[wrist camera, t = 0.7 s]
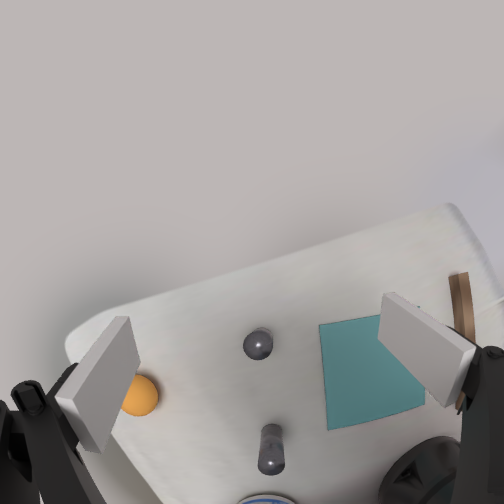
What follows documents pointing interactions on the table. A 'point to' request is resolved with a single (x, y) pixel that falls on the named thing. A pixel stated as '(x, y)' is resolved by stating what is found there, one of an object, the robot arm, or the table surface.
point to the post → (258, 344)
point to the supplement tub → (266, 500)
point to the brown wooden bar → (462, 312)
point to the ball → (140, 397)
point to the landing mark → (363, 375)
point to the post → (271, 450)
